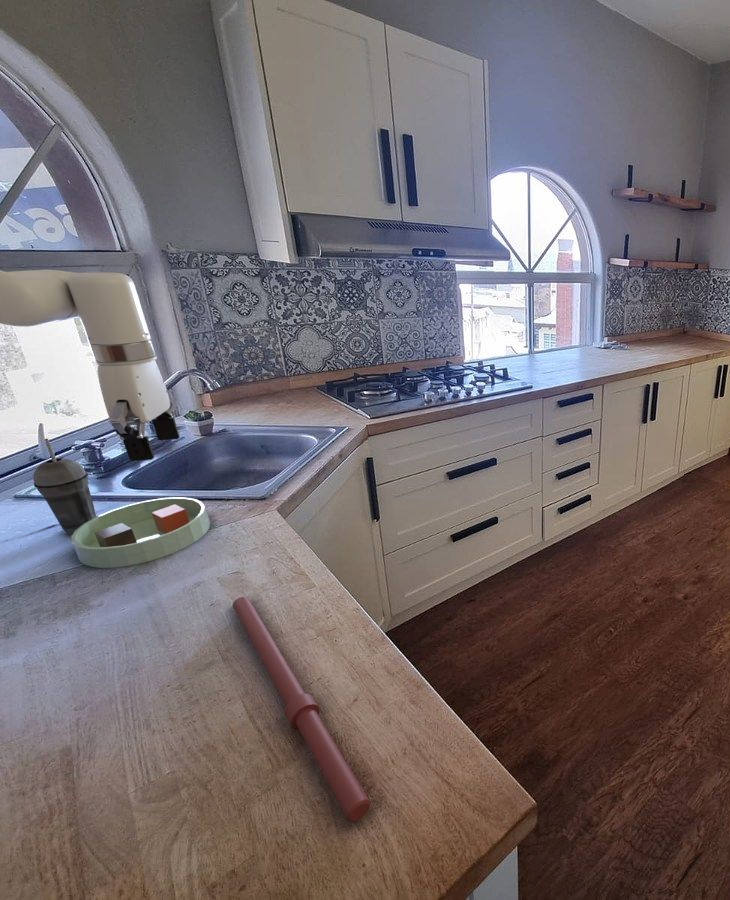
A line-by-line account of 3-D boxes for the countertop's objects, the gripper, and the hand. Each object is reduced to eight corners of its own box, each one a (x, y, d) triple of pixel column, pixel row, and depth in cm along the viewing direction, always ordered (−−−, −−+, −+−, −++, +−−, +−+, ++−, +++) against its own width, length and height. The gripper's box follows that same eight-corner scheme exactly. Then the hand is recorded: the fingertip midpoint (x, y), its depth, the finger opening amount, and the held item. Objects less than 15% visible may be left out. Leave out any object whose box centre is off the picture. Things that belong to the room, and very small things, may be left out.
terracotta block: (167, 535, 98) (161, 517, 96) (157, 530, 99) (151, 512, 98) (191, 526, 101) (185, 509, 100) (180, 521, 103) (175, 504, 101)
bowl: (108, 583, 85) (99, 560, 83) (61, 550, 93) (52, 529, 91) (230, 531, 101) (224, 512, 99) (181, 507, 109) (175, 489, 107)
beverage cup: (100, 518, 104) (64, 428, 96) (114, 528, 101) (78, 436, 93) (51, 534, 98) (9, 439, 91) (64, 545, 95) (21, 448, 87)
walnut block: (111, 557, 91) (104, 538, 89) (101, 551, 92) (94, 532, 91) (138, 546, 94) (131, 528, 92) (128, 540, 96) (121, 522, 94)
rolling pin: (377, 810, 52) (373, 790, 51) (346, 834, 50) (341, 813, 49) (254, 606, 81) (249, 590, 80) (231, 615, 79) (226, 599, 77)
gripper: (124, 343, 88) (154, 434, 95) (61, 364, 73) (102, 471, 79) (175, 342, 90) (201, 431, 97) (124, 362, 75) (159, 466, 82)
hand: (156, 449), depth 88 cm, fingers open, 9 cm apart
